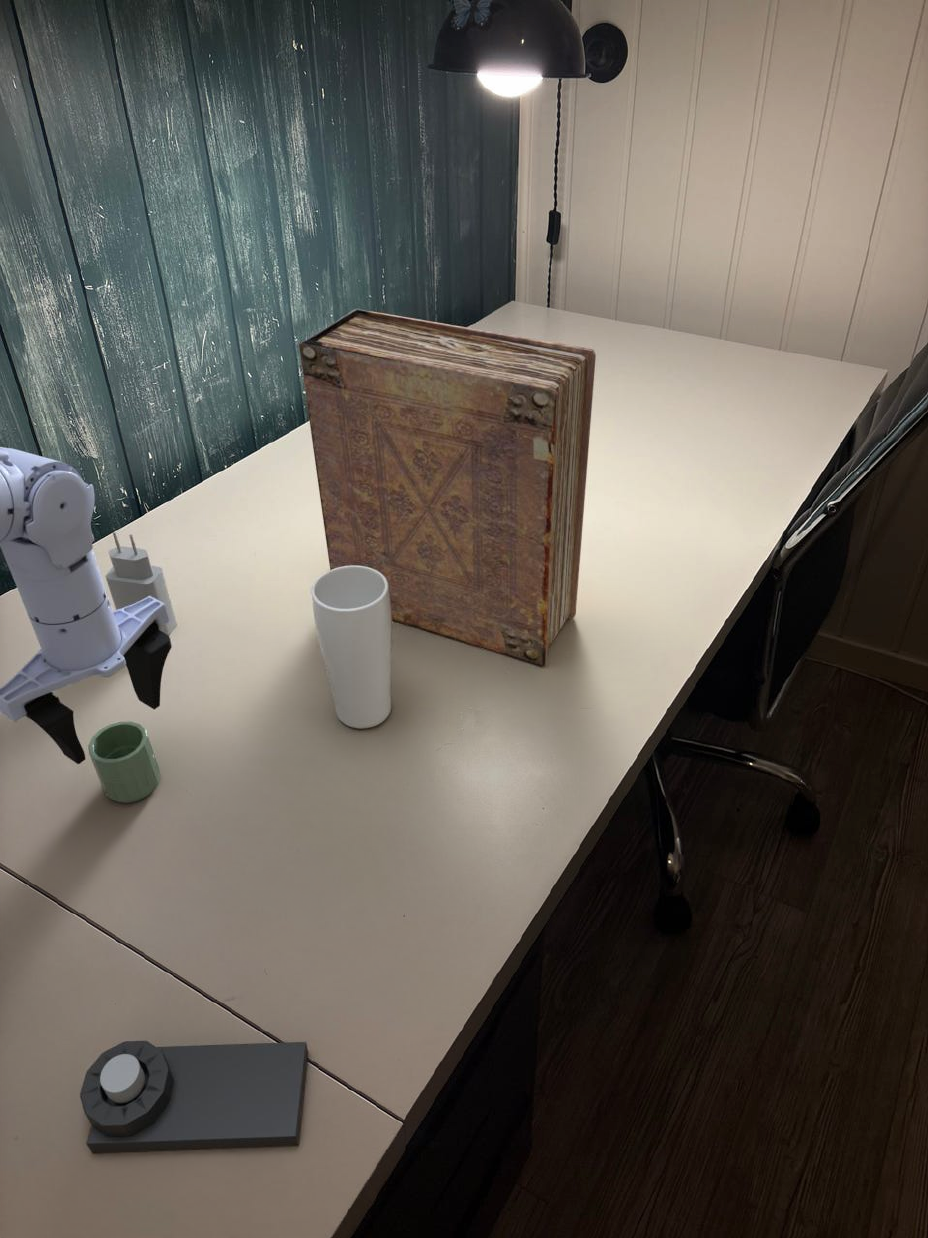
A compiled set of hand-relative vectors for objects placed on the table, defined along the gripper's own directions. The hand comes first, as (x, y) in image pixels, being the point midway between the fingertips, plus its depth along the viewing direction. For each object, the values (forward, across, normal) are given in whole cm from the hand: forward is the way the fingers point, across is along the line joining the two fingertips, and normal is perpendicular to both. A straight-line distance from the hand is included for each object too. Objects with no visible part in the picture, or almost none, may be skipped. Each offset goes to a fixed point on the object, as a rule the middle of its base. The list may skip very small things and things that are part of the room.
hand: (113, 729), depth 77 cm
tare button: (+4, -18, -22) cm, 29 cm away
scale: (+7, -15, -26) cm, 31 cm away
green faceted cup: (+7, 0, 0) cm, 7 cm away
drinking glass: (+7, +19, -11) cm, 23 cm away
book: (+7, +36, -8) cm, 38 cm away
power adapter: (+7, +15, +17) cm, 24 cm away
